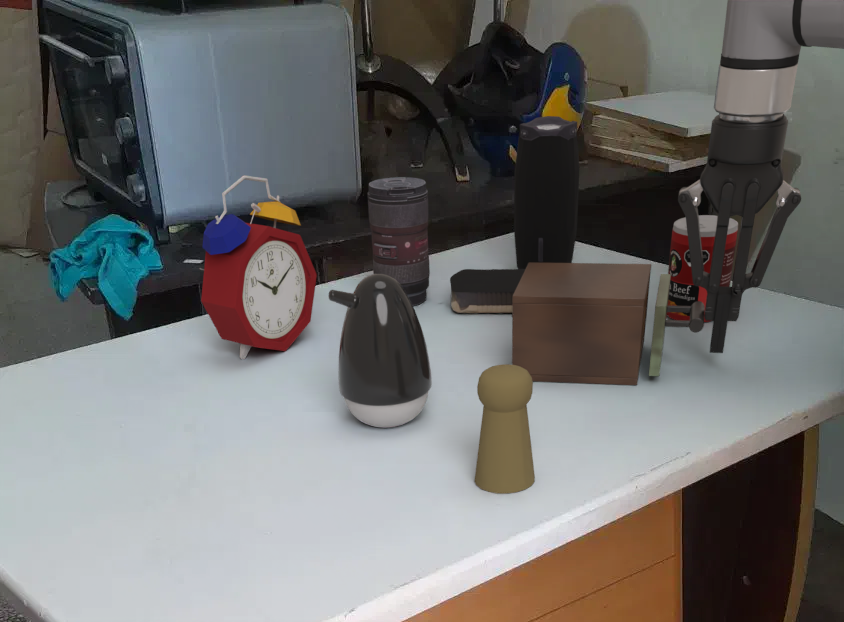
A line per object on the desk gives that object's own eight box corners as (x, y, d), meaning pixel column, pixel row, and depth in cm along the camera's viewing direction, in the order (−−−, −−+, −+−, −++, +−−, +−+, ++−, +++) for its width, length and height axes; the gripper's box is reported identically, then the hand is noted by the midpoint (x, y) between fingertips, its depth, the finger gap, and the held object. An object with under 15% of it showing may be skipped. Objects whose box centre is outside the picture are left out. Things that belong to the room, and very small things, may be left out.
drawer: (699, 342, 124) (708, 274, 118) (697, 377, 115) (706, 306, 110) (554, 338, 127) (556, 272, 122) (542, 372, 119) (543, 303, 114)
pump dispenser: (330, 410, 116) (314, 268, 106) (416, 394, 118) (408, 254, 108) (355, 444, 109) (340, 296, 99) (446, 427, 111) (441, 280, 101)
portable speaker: (531, 263, 154) (535, 113, 141) (586, 271, 150) (594, 117, 137) (501, 278, 149) (502, 124, 136) (556, 287, 145) (563, 129, 132)
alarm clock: (246, 370, 127) (217, 192, 113) (198, 357, 131) (165, 184, 118) (324, 333, 135) (305, 164, 122) (277, 323, 139) (254, 158, 126)
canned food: (653, 309, 136) (662, 219, 129) (707, 301, 137) (718, 211, 130) (681, 327, 130) (692, 234, 123) (736, 318, 132) (750, 225, 125)
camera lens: (438, 304, 142) (434, 185, 132) (382, 312, 140) (374, 192, 130) (423, 288, 148) (418, 172, 138) (369, 295, 146) (360, 179, 136)
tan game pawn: (464, 473, 102) (462, 363, 95) (519, 461, 104) (521, 352, 96) (488, 498, 98) (488, 386, 91) (545, 485, 99) (549, 374, 92)
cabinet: (643, 346, 126) (651, 263, 120) (636, 385, 117) (644, 298, 111) (527, 342, 129) (528, 262, 123) (511, 380, 120) (512, 296, 113)
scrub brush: (570, 295, 142) (571, 267, 139) (566, 316, 135) (567, 287, 133) (455, 295, 144) (454, 268, 142) (446, 315, 138) (445, 287, 136)
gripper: (816, 106, 104) (773, 339, 120) (686, 107, 107) (661, 335, 123) (820, 121, 99) (775, 363, 115) (683, 122, 101) (657, 358, 117)
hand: (716, 348), depth 118 cm, fingers closed
